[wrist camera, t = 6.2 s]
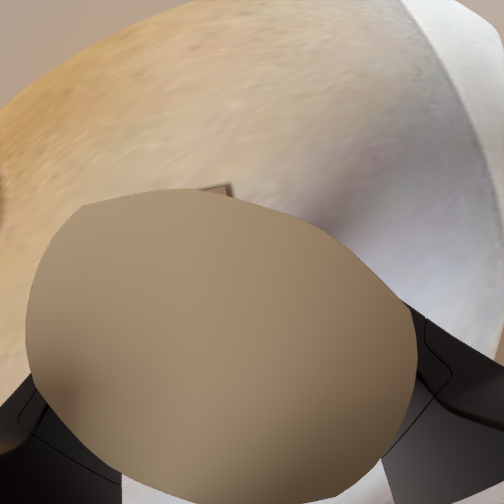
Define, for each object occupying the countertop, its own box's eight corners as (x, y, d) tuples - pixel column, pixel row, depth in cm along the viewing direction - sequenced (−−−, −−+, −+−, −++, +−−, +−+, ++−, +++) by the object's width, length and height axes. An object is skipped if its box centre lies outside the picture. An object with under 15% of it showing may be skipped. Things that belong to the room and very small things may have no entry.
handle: (206, 264, 19) (78, 157, 5) (304, 295, 19) (447, 270, 4) (182, 337, 19) (12, 406, 4) (280, 368, 18) (344, 528, 3)
